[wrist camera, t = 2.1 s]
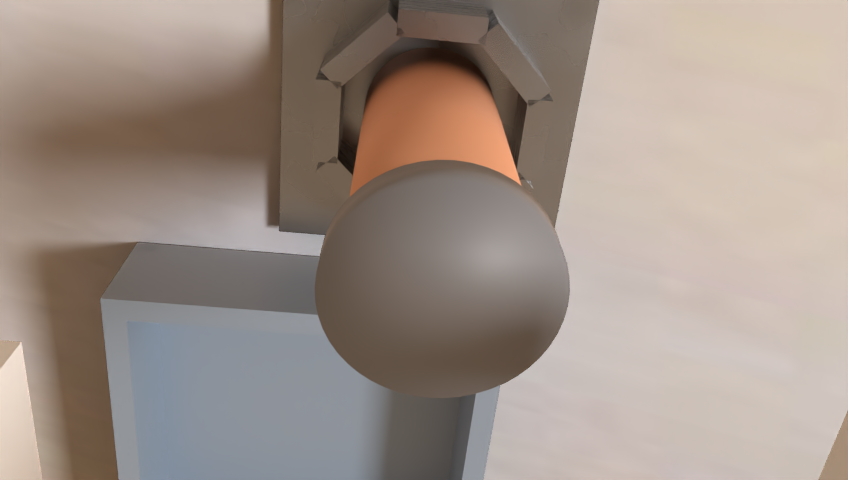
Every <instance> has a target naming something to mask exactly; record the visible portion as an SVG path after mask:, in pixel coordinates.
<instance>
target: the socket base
mask: <svg viewBox="0 0 848 480" xmlns="http://www.w3.org/2000/svg"><path fill="white" fill-rule="evenodd" d="M598 4H599V0H283V44H282V99H281V154H280V209H279V231H282V232H295V233H307V234H319V235H326V232H327V230H328V228H329V226H330V223H331V221H332V220H333V218H334V217H335V215H336V213H337V212H338V210H339V209H340V208H341V207H342V205H343V204H344V203H345V202H346V201H347V199H348V198H349V196H350V190H351V185H352V179H353V173H354V167H355V161H356V155H357V149H358V143H359V137H360V131H361V125H362V119H363V113H364V107H365V101H366V96H367V93H368V89H369V87H370V85H371V83H372V81H373V79H374V78H375V76H376V74H377V73H378V72H379V71H380V69H381V68H382V67H383V66H384V65H385V64H387V63H388V62H389V61H390V60H392V59H393V58H395V57H396V56H398V55H400V54H402V53H404V52H407V51H410V50H413V49H418V48H426V47H434V48H442V49H447V50H450V51H454V52H456V53H458V54H460V55H462V56H464V57H465V58H467V59H469V60H470V61H471V62H472V63H473V64H475V65H476V66H477V67H478V68H479V70H480V71H481V72H482V73H483V75H484V76H485V78H486V79H487V81H488V83H489V85H490V88H491V91H492V94H493V97H494V100H495V103H496V107H497V110H498V113H499V116H500V119H501V122H502V126H503V129H504V132H505V135H506V138H507V142H508V145H509V148H510V151H511V154H512V157H513V161H514V164H515V167H516V170H517V173H518V177H519V180H520V183H521V186H522V187H524V188H525V189H526V190H527V191H529V192H530V193H531V194H532V196H533V197H534V198H535V199H536V200H537V201H538V202H539V203H540V204H541V206H542V207H543V209H544V210H545V211H546V213H547V214H548V216H549V218H550V220H551V222H552V224H553V226H554V228H555V223H556V218H557V213H558V208H559V203H560V198H561V193H562V188H563V182H564V177H565V172H566V167H567V162H568V157H569V152H570V147H571V142H572V137H573V131H574V126H575V121H576V116H577V111H578V106H579V101H580V96H581V91H582V85H583V80H584V75H585V70H586V65H587V60H588V55H589V50H590V45H591V40H592V34H593V29H594V24H595V19H596V14H597V9H598Z"/></svg>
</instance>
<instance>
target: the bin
mask: <svg viewBox="0 0 848 480" xmlns="http://www.w3.org/2000/svg"><path fill="white" fill-rule="evenodd" d="M319 258H320V257H316V256H304V255H291V254H279V253H266V252H254V251H241V250H229V249H216V248H204V247H192V246H179V245H167V244H154V243H142V242H137V244H136V245H135V247H134V248H133V250H132V251H131V253H130V254H129V256H128V257H127V259H126V260H125V262H124V263H123V265H122V266H121V268H120V269H119V271H118V272H117V274H116V275H115V277H114V278H113V280H112V281H111V283H110V284H109V286H108V287H107V289H106V290H105V292H104V293H103V295H102V296H101V298H100V302H101V312H102V322H103V331H104V341H105V351H106V361H107V371H108V380H109V390H110V400H111V410H112V420H113V430H114V439H115V449H116V459H117V469H118V479H119V480H483V478H484V473H485V467H486V462H487V456H488V451H489V445H490V439H491V434H492V428H493V423H494V417H495V411H496V406H497V400H498V395H499V389H500V385H499V386H497V387H494V388H492V389H490V390H486V391H483V392H480V393H476V394H472V395H467V396H462V397H452V398H427V397H419V396H412V395H408V394H404V393H399V392H396V391H394V390H391V389H388V388H385V387H383V386H381V385H379V384H377V383H375V382H373V381H371V380H369V379H368V378H366V377H364V376H363V375H361V374H360V373H358V372H357V371H356V370H355V369H353V368H352V367H351V366H350V365H349V364H347V363H346V362H345V360H344V359H343V358H342V357H341V356H340V355H339V354H338V353H337V352H336V350H335V349H334V347H333V346H332V345H331V343H330V342H329V340H328V338H327V336H326V334H325V332H324V330H323V329H322V326H321V323H320V320H319V317H318V313H317V308H316V303H315V280H316V272H317V267H318V263H319Z"/></svg>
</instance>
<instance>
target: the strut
mask: <svg viewBox="0 0 848 480" xmlns="http://www.w3.org/2000/svg"><path fill="white" fill-rule="evenodd" d="M569 293H570V285H569V273H568V267H567V262H566V259H565V256H564V253H563V250H562V247H561V245H560V242H559V239H558V236H557V234H556V231H555V228H554V226H553V224H552V222H551V220H550V218H549V216H548V214H547V213H546V211H545V210H544V209H543V207H542V206H541V204H540V203H539V202H538V201H537V200H536V199H535V198H534V197H533V196H532V194H531V193H530V192H529V191H527V190H526V189H525V188H524V187H522V186H521V183H520V180H519V177H518V173H517V170H516V167H515V164H514V161H513V157H512V154H511V151H510V148H509V145H508V142H507V138H506V135H505V132H504V129H503V126H502V122H501V119H500V116H499V113H498V110H497V107H496V103H495V100H494V97H493V94H492V91H491V88H490V85H489V83H488V81H487V79H486V78H485V76H484V75H483V73H482V72H481V71H480V70H479V68H478V67H477V66H476V65H475V64H473V63H472V62H471V61H470V60H469V59H467V58H465V57H464V56H462V55H460V54H458V53H456V52H454V51H450V50H447V49H442V48H434V47H426V48H418V49H413V50H410V51H407V52H404V53H402V54H400V55H398V56H396V57H395V58H393V59H392V60H390V61H389V62H388V63H387V64H385V65H384V66H383V67H382V68H381V69H380V71H379V72H378V73H377V74H376V76H375V78H374V79H373V81H372V83H371V85H370V87H369V89H368V93H367V96H366V101H365V107H364V113H363V119H362V125H361V131H360V137H359V143H358V149H357V155H356V161H355V167H354V173H353V179H352V185H351V190H350V196H349V198H348V199H347V201H346V202H345V203H344V204H343V205H342V207H341V208H340V209H339V210H338V212H337V213H336V215H335V217H334V218H333V220H332V221H331V223H330V226H329V228H328V230H327V232H326V235H325V238H324V242H323V245H322V249H321V253H320V258H319V263H318V267H317V272H316V280H315V303H316V308H317V313H318V317H319V320H320V323H321V326H322V329H323V330H324V332H325V334H326V336H327V338H328V340H329V342H330V343H331V345H332V346H333V347H334V349H335V350H336V352H337V353H338V354H339V355H340V356H341V357H342V358H343V359H344V360H345V362H346V363H347V364H349V365H350V366H351V367H352V368H353V369H355V370H356V371H357V372H358V373H360V374H361V375H363V376H364V377H366V378H368V379H369V380H371V381H373V382H375V383H377V384H379V385H381V386H383V387H385V388H388V389H391V390H394V391H396V392H399V393H404V394H408V395H412V396H419V397H427V398H452V397H462V396H467V395H472V394H476V393H480V392H483V391H486V390H490V389H492V388H494V387H497V386H499V385H501V384H504V383H506V382H507V381H509V380H511V379H513V378H514V377H516V376H518V375H519V374H521V373H522V372H523V371H525V370H526V369H527V368H529V367H530V366H531V365H532V364H533V363H534V362H535V361H537V360H538V359H539V358H540V357H541V356H542V354H543V353H544V352H545V351H546V350H547V348H548V347H549V346H550V345H551V343H552V341H553V340H554V338H555V337H556V335H557V334H558V331H559V329H560V327H561V325H562V323H563V320H564V317H565V314H566V310H567V307H568V300H569Z"/></svg>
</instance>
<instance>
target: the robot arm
mask: <svg viewBox="0 0 848 480" xmlns="http://www.w3.org/2000/svg"><path fill="white" fill-rule="evenodd" d="M0 480H42V474H41V467H40V461H39V454H38V448H37V441H36V434H35V428H34V421H33V415H32V408H31V402H30V395H29V389H28V382H27V376H26V369H25V363H24V356H23V349H22V343H21V342H15V341H1V340H0ZM819 480H848V412H847V414H846V416H845V419H844V421H843V423H842V426H841V428H840V430H839V433H838V435H837V438H836V440H835V442H834V445H833V447H832V449H831V452H830V454H829V456H828V459H827V461H826V463H825V466H824V468H823V470H822V473H821V475H820V477H819Z"/></svg>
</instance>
